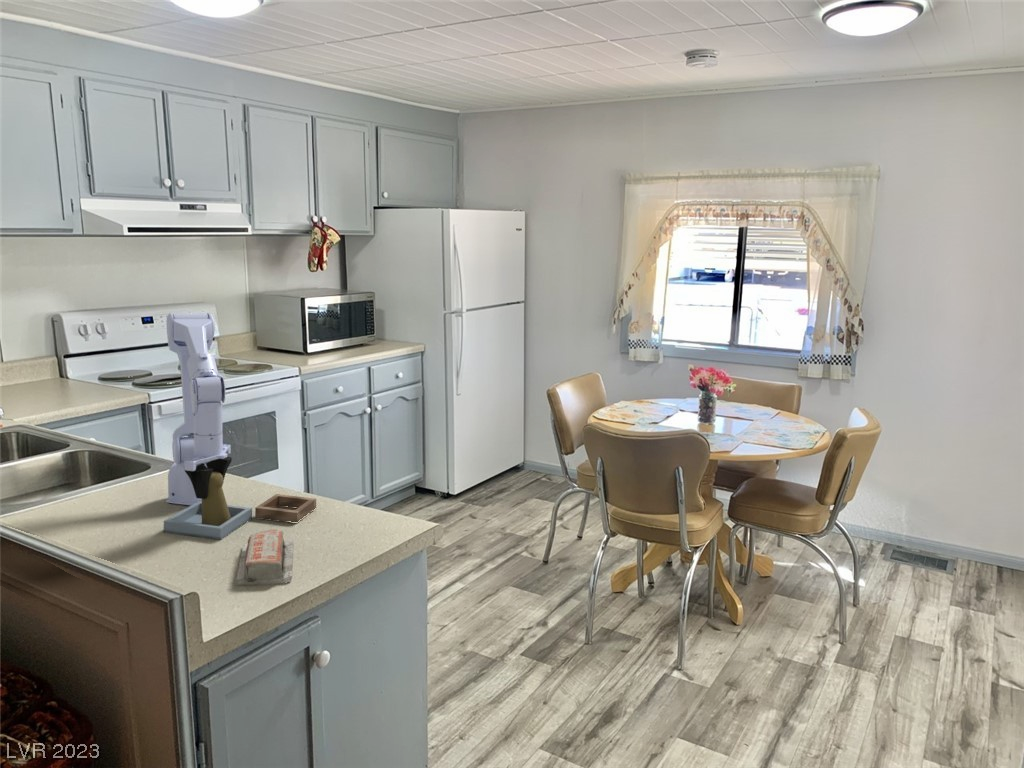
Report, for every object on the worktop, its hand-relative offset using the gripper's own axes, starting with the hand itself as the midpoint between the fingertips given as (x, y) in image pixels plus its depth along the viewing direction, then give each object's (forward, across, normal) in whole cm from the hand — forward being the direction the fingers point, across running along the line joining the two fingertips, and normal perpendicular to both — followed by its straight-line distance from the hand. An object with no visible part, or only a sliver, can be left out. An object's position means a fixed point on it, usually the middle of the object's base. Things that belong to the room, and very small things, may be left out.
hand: (209, 494), depth 169 cm
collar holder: (+7, +12, -12) cm, 18 cm away
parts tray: (+7, 0, 0) cm, 7 cm away
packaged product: (+8, -14, -21) cm, 27 cm away
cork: (+6, 0, -2) cm, 7 cm away
